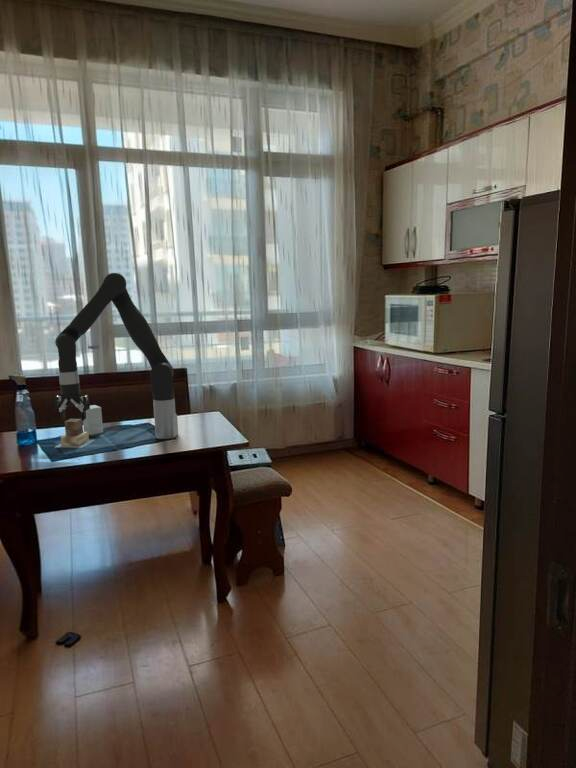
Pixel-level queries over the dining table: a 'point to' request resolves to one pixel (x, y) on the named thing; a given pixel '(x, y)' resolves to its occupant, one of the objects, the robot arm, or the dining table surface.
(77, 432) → the walnut block
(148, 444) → the dining table surface
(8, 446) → the dining table surface
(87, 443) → the board
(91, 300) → the robot arm
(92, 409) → the small box
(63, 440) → the beech block
